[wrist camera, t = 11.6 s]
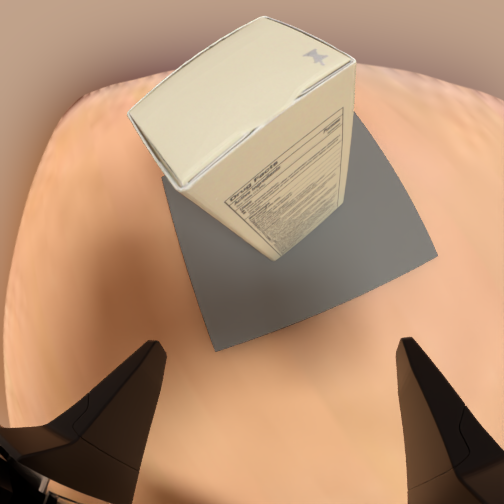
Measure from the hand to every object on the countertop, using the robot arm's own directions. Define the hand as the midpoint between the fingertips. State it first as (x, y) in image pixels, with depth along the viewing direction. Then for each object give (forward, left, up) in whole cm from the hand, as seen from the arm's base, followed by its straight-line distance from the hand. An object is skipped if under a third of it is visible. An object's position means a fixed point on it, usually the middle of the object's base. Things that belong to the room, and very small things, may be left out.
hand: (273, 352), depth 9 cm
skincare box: (+7, -3, -8) cm, 11 cm away
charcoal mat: (+7, -3, -8) cm, 12 cm away
